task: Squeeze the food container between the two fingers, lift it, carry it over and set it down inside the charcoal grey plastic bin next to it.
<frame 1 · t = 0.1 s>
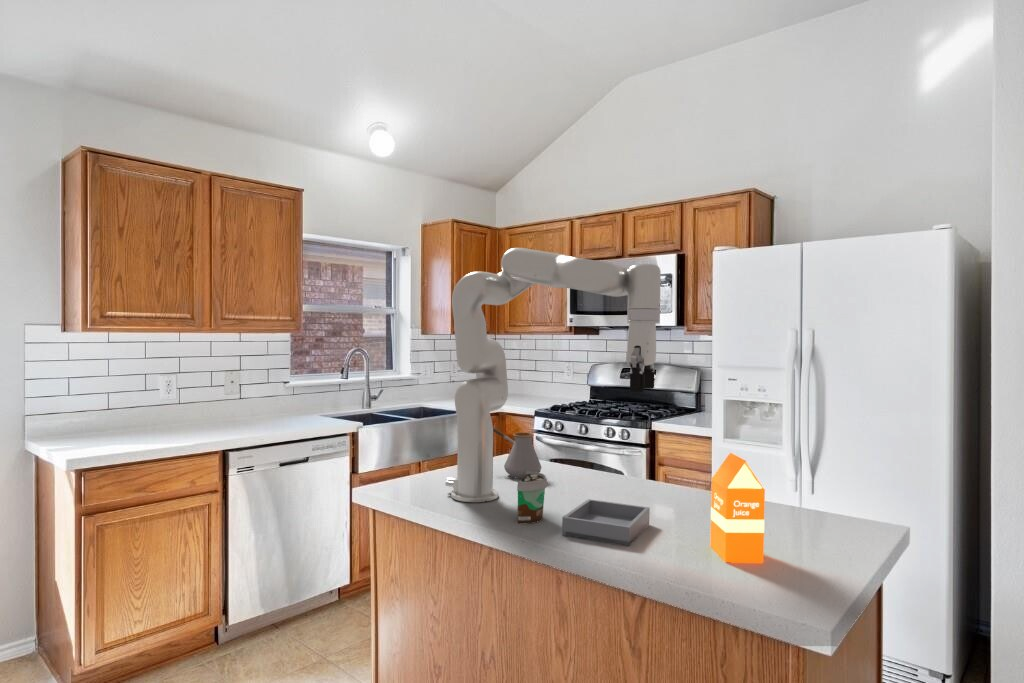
hand: (642, 389, 150), 31 cm above the counter, tool pointing down, fingers open, 9 cm apart
grey bin: (607, 529, 143), on the counter
orange juice: (735, 556, 128), on the counter
coffee pot: (509, 474, 198), on the counter
food container: (534, 519, 151), on the counter
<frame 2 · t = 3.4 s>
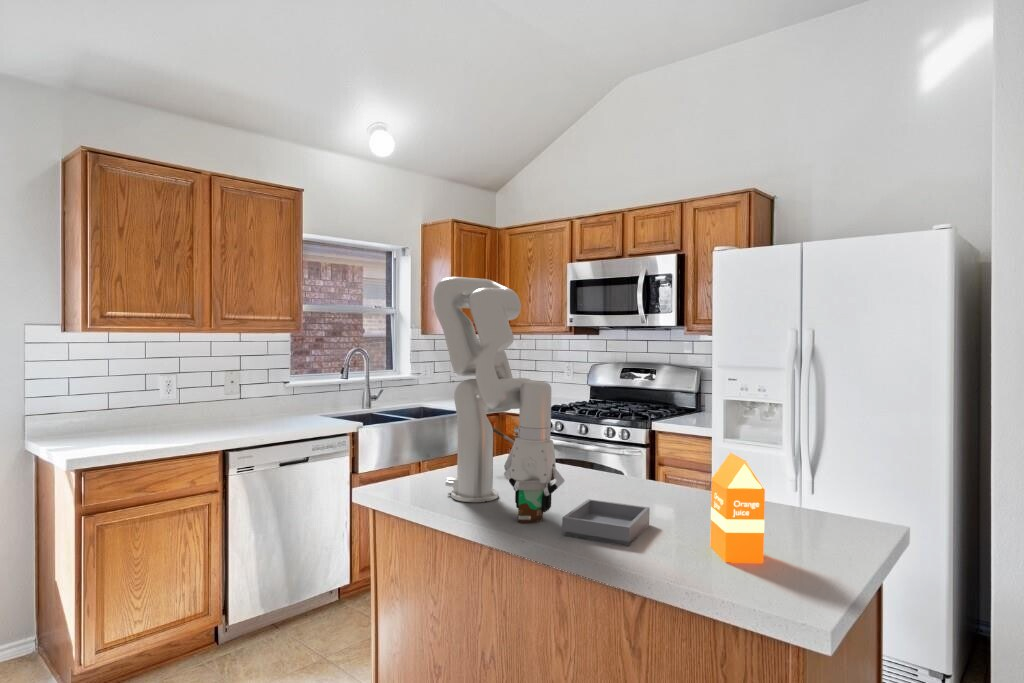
hand: (532, 507, 152), 2 cm above the counter, tool pointing down, fingers open, 6 cm apart
food container: (534, 519, 151), on the counter, touching gripper
everything else where it was.
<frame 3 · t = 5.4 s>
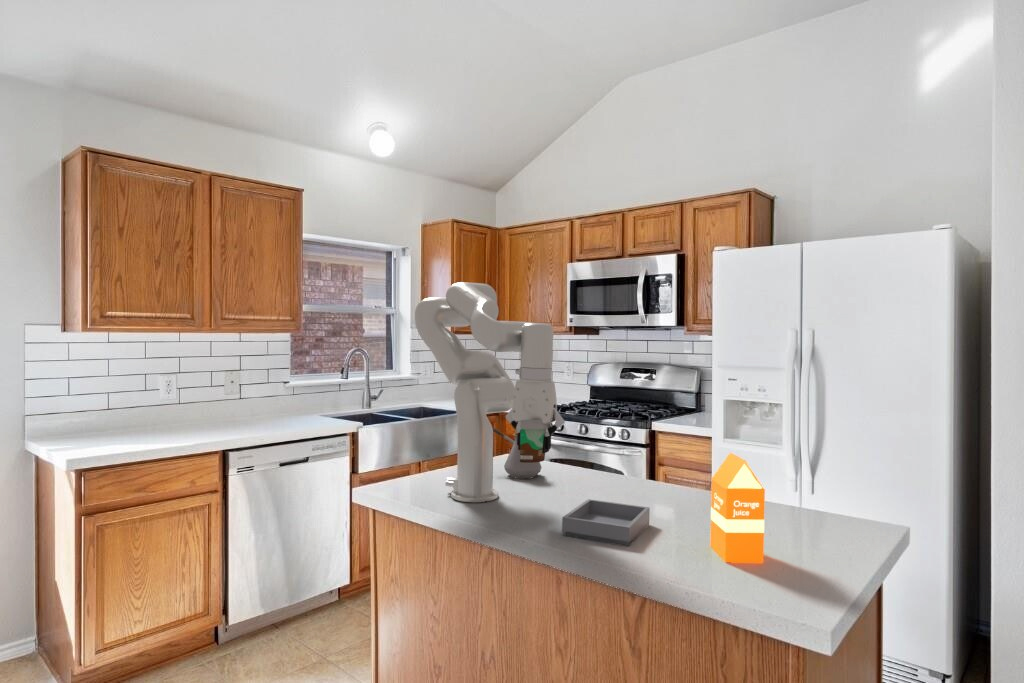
hand: (533, 449, 152), 16 cm above the counter, tool pointing down, fingers closed on food container, 5 cm apart
food container: (536, 460, 151), point 14 cm above the counter, touching gripper
everything else where it was.
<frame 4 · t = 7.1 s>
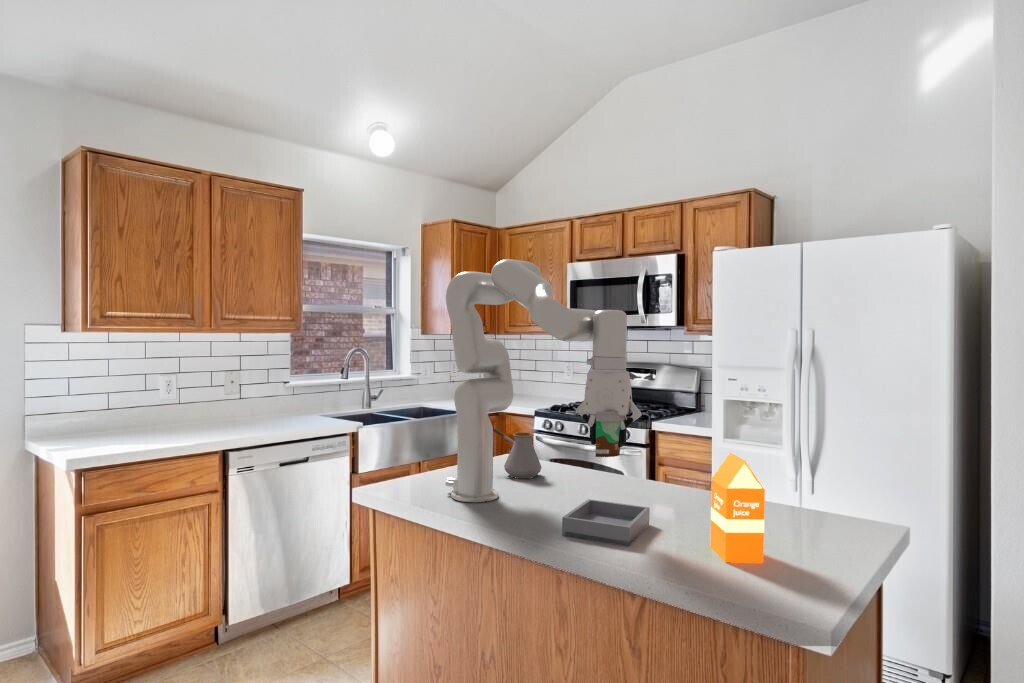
hand: (607, 444, 143), 19 cm above the counter, tool pointing down, fingers closed on food container, 5 cm apart
food container: (610, 455, 143), point 17 cm above the counter, touching gripper
everything else where it was.
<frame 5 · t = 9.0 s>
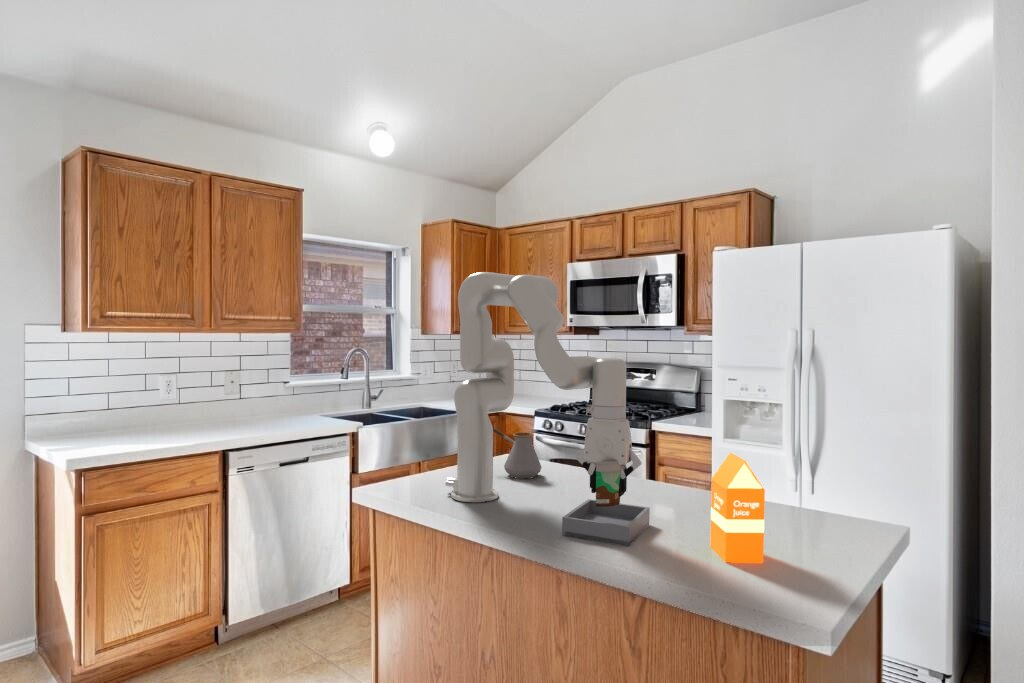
hand: (607, 492, 143), 8 cm above the counter, tool pointing down, fingers closed on food container, 5 cm apart
food container: (611, 503, 143), point 6 cm above the counter, touching gripper
everything else where it was.
when the fingers open (5 cm above the counter, at t = 10.5 s): food container drops 2 cm, resting on grey bin.
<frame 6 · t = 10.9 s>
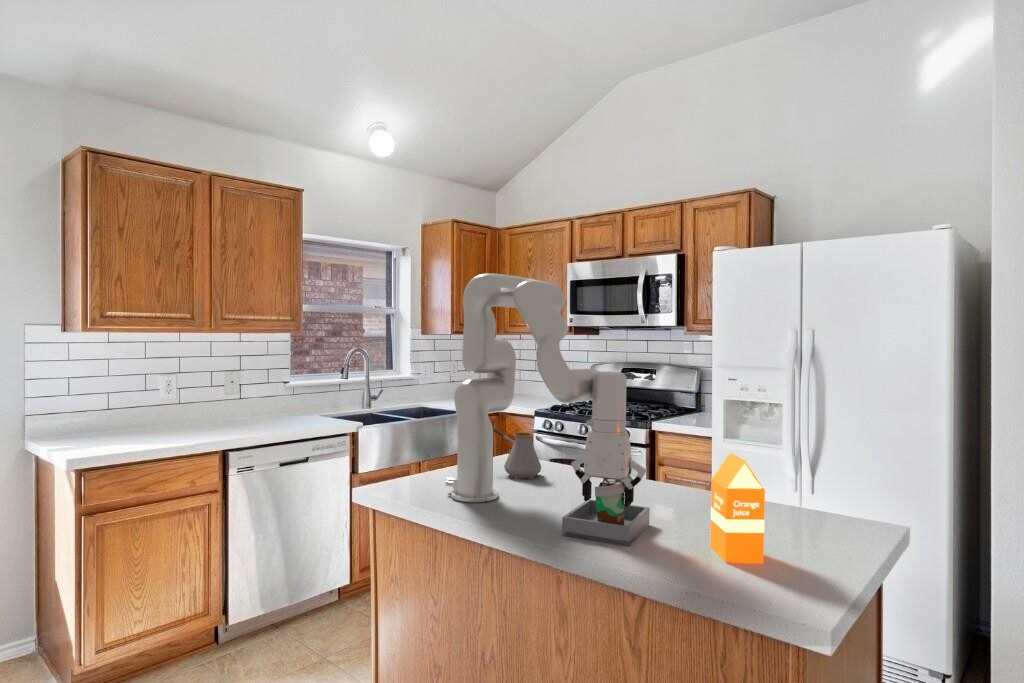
hand: (607, 502, 143), 6 cm above the counter, tool pointing down, fingers open, 9 cm apart
food container: (615, 526, 143), point 1 cm above the counter, touching grey bin, gripper
everything else where it was.
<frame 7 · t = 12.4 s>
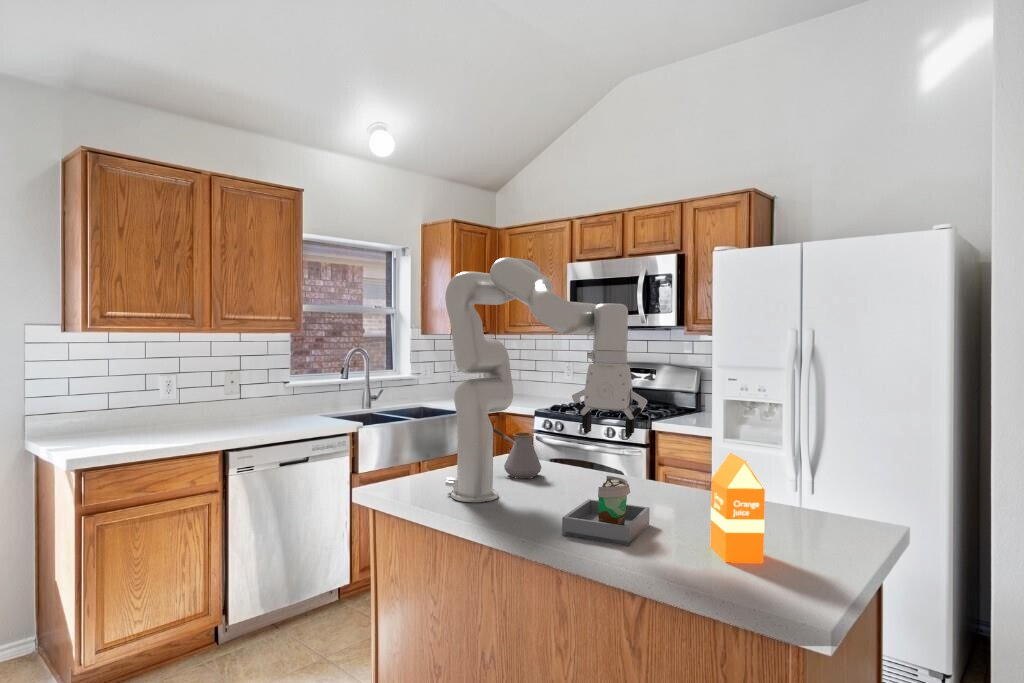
hand: (607, 434, 143), 22 cm above the counter, tool pointing down, fingers open, 9 cm apart
food container: (615, 527, 143), point 1 cm above the counter, touching grey bin
everything else where it was.
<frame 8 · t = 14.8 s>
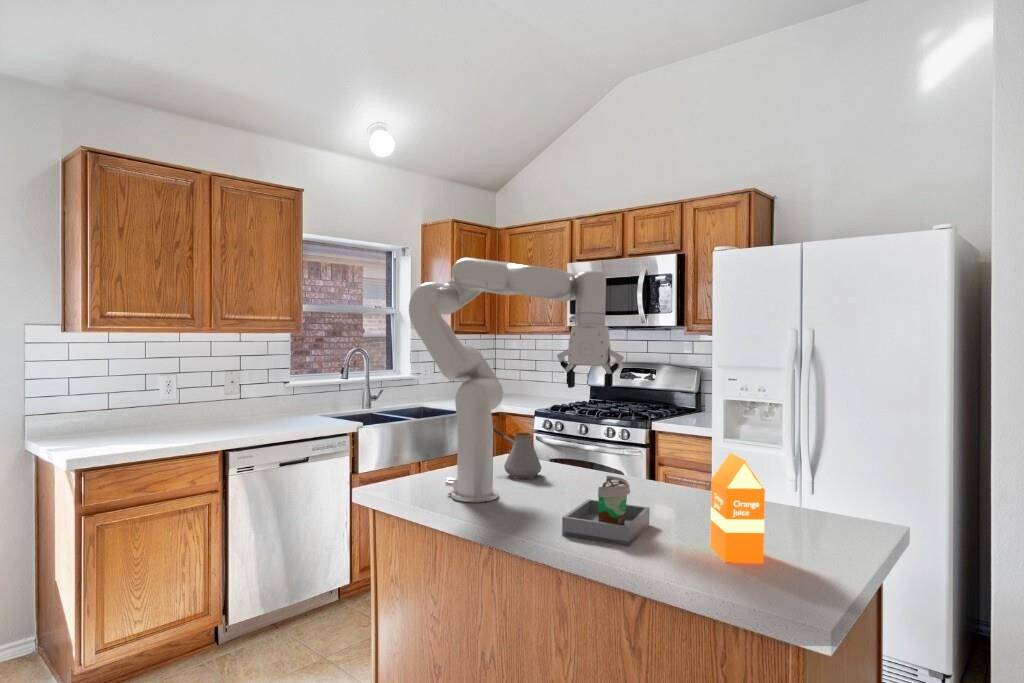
hand: (589, 388, 161), 30 cm above the counter, tool pointing down, fingers open, 9 cm apart
nothing on the counter moved.
at the end: food container inside the target area on the grey bin (1.9 cm from its centre), point 0.8 cm above the grey bin's base; the gripper is holding nothing; food container tilted 0° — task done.
